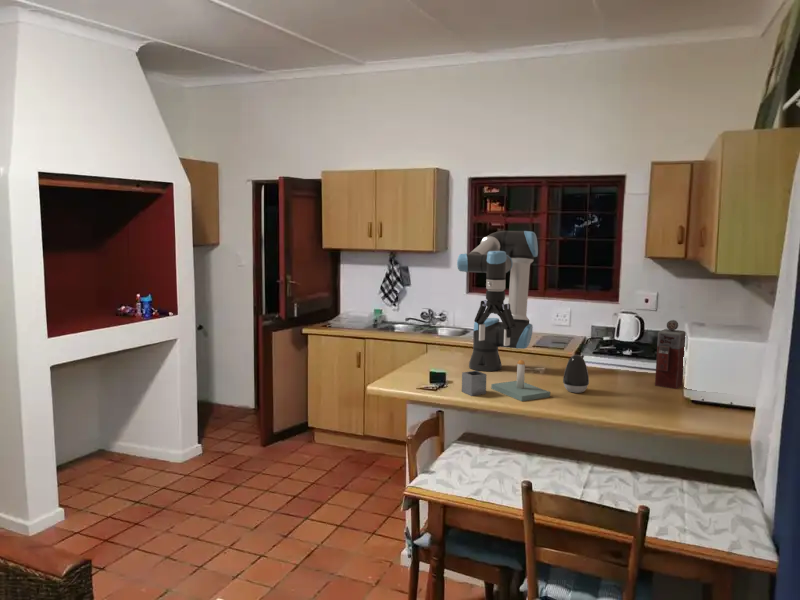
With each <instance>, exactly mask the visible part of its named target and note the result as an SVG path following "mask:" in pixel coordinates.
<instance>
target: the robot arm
mask: <svg viewBox="0 0 800 600" xmlns="http://www.w3.org/2000/svg"><path fill="white" fill-rule="evenodd" d="M538 245H539V244H538V239H537V235H536V233H535V232H534V231H529V230H497V231H496V232H492V233H490V234H489V235H487V236H486V235H485V236H484V237H483V238H482V239H481V241H480V244H479V245H477V246H476V247H475V248H474V249H473V250H471V251H470V252H469V253H466V252H465V253H460V254H459V255H458V256H457V260H456V261H457V264H456V265H457V269H458V271H459V272H463V273H464V272H465V273H482V274H483V273H485V274H486V277H485V278H486V280H485V281H486V283H485V286H486V287H485V289H486V291H485V300H480V304H479V305H480V306H479V308H478V310H477V313H476V315H475V318H474V322H473V330H472V331H473V339H472V340H473V342H472V344H473V345H472V352H471V356H470V360H469V362H468V367H469V368H470V369H471V370H473V371H479V372H495V371H496V372H497V371H500V370H501V369H502V361H501V357H500V353H499V348H509V349H516V350H519V349H521V350H523V349H524V350H525V349H527V348H528V347H529V345H530V343H531V340H532V335H533V330H534V329H533V328H534V327H533V324H532V323H530V319H529V317H528V316H527V314H528V313H527V311H528V310H527V309H528V298H529V297H528V296H529V285H530V284H529V283H530V272H531V271H530V267H531V264H532V263H533V262H534V260H535V259H534V258H536V257H538V256H539V255H538V254H539V246H538ZM508 272H510V275H509V288H508V301H507V302H508V303H505V302H504V301H505V299H506V291H505V290H506V278H507V277H506V275H507V273H508ZM492 314H495V315H497V316H498V317H499V318H498V317H490V315H492ZM500 320H501V321H500Z"/></svg>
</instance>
